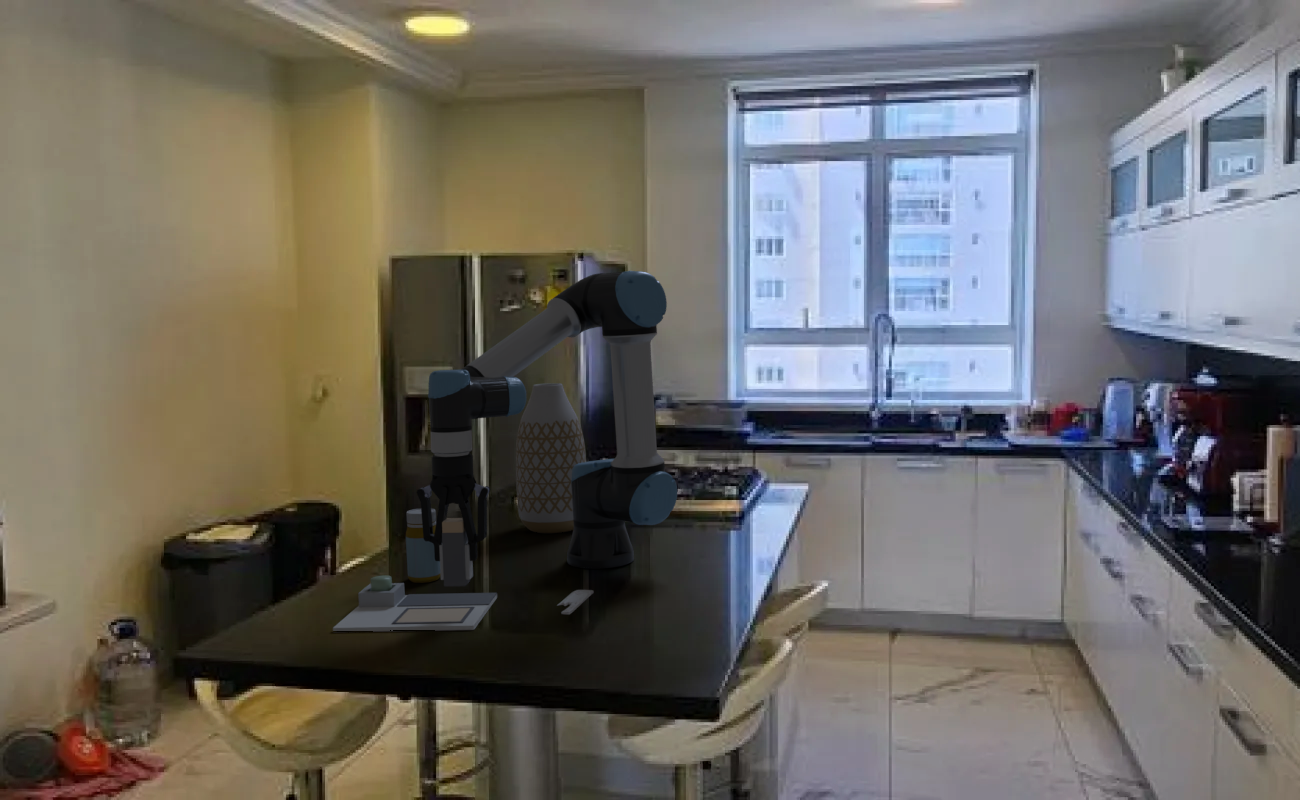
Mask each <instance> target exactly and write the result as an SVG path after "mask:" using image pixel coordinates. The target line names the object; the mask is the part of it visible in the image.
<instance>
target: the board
mask: <svg viewBox="0 0 1300 800" xmlns="http://www.w3.org/2000/svg"><path fill="white" fill-rule="evenodd" d="M497 598H498V593H497V592H463V593H461V592H460V593H459V592H457V593H409V594H406V593H405V583H404V582H392V589H391V590H390V591H371V583H369V584H368V585H366V586H365V587H364V588H363V589H362V590H361V591H359V592H358V605H357V606H356V607H355V608H353V610H352V611H351V612H350V613H348V614H347V615H346V616H344V618H343V619H341V620H340V621H339V622H338V623H336V625H334V626H333V627H332V632H333V631H373V632H394V631H393V630H435V631H474V630H475V629H476V628H477V626H478V625H479V624H480V623H481V621H482V619H483V618H484V616H485V615H486V613H488V611H489V610H490V608H492V605H493V604H494V603H495V601H496V600H497ZM390 630H391V631H390Z"/></svg>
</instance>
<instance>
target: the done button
mask: <svg viewBox="0 0 1300 800" xmlns="http://www.w3.org/2000/svg"><path fill="white" fill-rule="evenodd" d="M392 583H393V580H392V575H391V576H390V575H376V576H373V577H371V578H370V584H371V591H390V590H391V589H392Z"/></svg>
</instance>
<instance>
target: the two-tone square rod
mask: <svg viewBox="0 0 1300 800" xmlns="http://www.w3.org/2000/svg"><path fill="white" fill-rule="evenodd" d="M467 542H468V538H467V534H466V530H465V526H464V522H463V518H462V517H446V520H444V521H443V522H442V550H443V574H444V580H443V587H466V586H467V585H468V584H469V582H471V579H470V580H466V568H465V544H466V543H467Z"/></svg>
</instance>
